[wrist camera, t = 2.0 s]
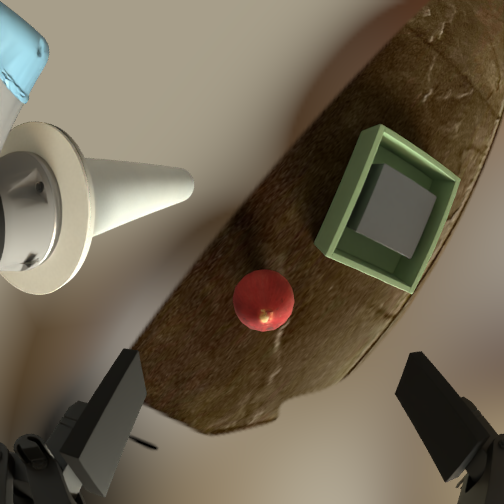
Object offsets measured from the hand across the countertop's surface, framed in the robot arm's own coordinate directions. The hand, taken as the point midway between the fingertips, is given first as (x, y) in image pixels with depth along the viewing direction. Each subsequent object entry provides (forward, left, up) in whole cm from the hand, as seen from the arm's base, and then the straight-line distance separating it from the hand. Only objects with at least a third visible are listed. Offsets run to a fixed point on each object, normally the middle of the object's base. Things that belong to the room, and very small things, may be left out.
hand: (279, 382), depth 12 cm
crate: (+9, +11, -19) cm, 24 cm away
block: (+9, +11, -19) cm, 24 cm away
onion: (+1, -2, -19) cm, 19 cm away
